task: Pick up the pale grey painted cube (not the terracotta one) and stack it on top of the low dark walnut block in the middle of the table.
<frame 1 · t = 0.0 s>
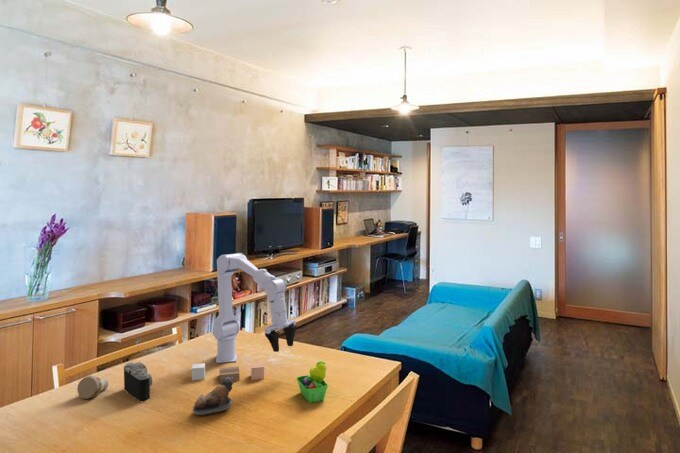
hand: (283, 348, 163), 11 cm above the table, fingers open, 7 cm apart
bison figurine: (213, 412, 136), on the table
grey block: (198, 377, 163), on the table
grey stepped cylinder: (94, 394, 149), on the table
terracotta block: (257, 377, 163), on the table
camera: (141, 393, 149), on the table
fruit basket: (313, 396, 147), on the table
walnut base: (229, 378, 162), on the table
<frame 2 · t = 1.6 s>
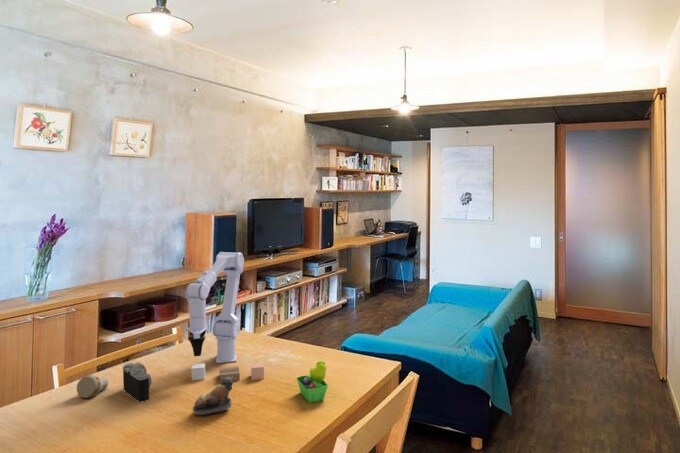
hand: (198, 352, 162), 9 cm above the table, fingers open, 7 cm apart
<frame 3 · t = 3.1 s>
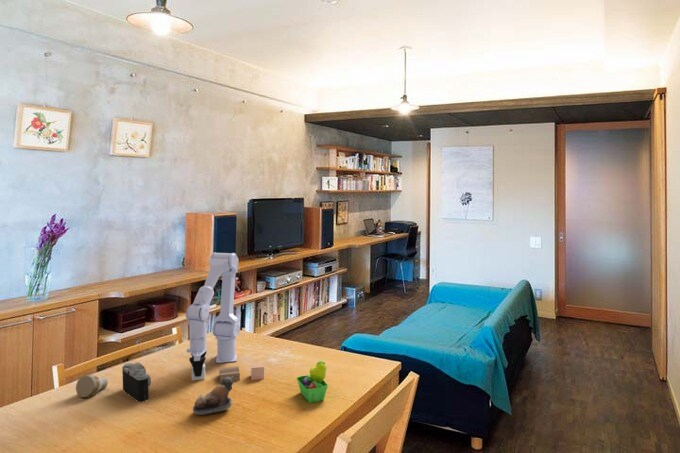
hand: (198, 373, 162), 1 cm above the table, fingers closed on grey block, 4 cm apart
grey block: (198, 377, 163), on the table, touching gripper
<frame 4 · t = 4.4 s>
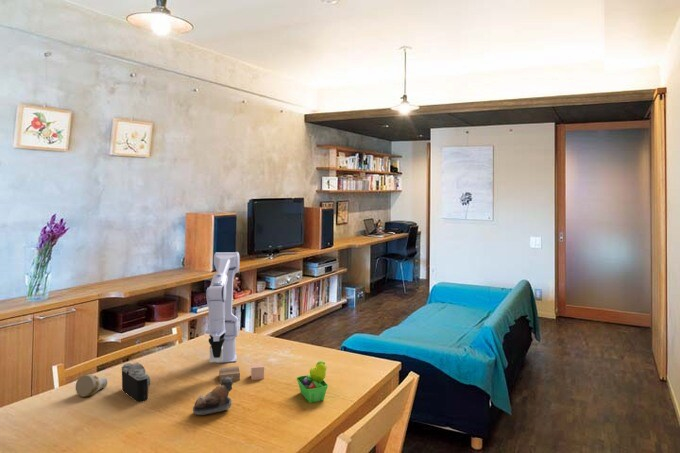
hand: (217, 355, 162), 8 cm above the table, fingers closed on grey block, 4 cm apart
grey block: (216, 359, 162), point 7 cm above the table, touching gripper
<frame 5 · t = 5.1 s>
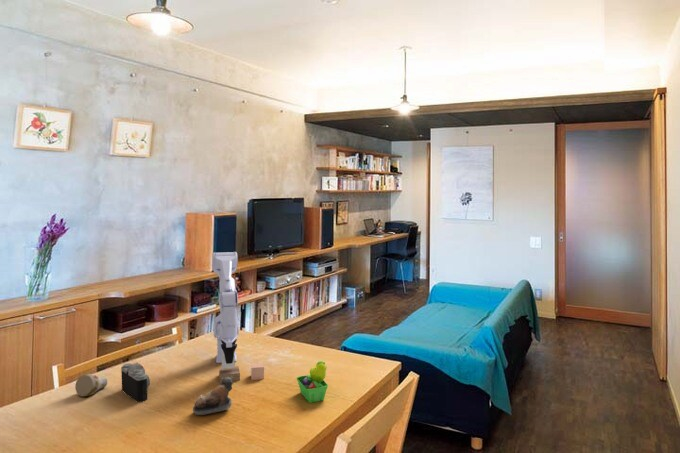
hand: (229, 360, 162), 6 cm above the table, fingers closed on grey block, 4 cm apart
grey block: (228, 365, 162), point 5 cm above the table, touching gripper
when the fingers open (5 cm above the table, at t = 5.7 s): grey block drops 1 cm, resting on walnut base.
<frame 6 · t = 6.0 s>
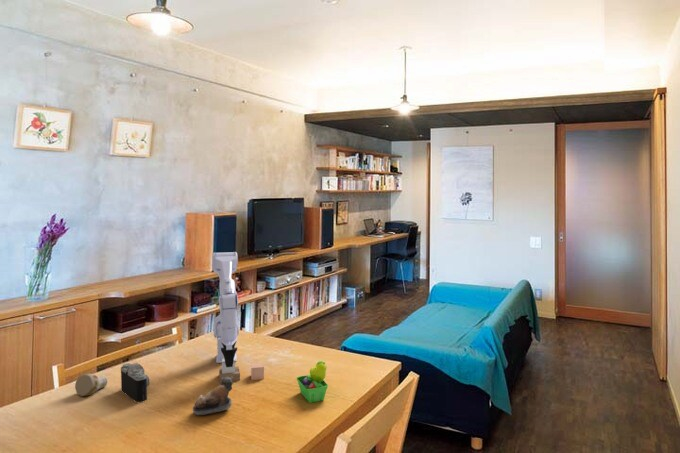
hand: (229, 363, 162), 5 cm above the table, fingers open, 7 cm apart
grey block: (228, 370, 162), point 3 cm above the table, touching walnut base
walnut base: (229, 378, 162), on the table, touching grey block
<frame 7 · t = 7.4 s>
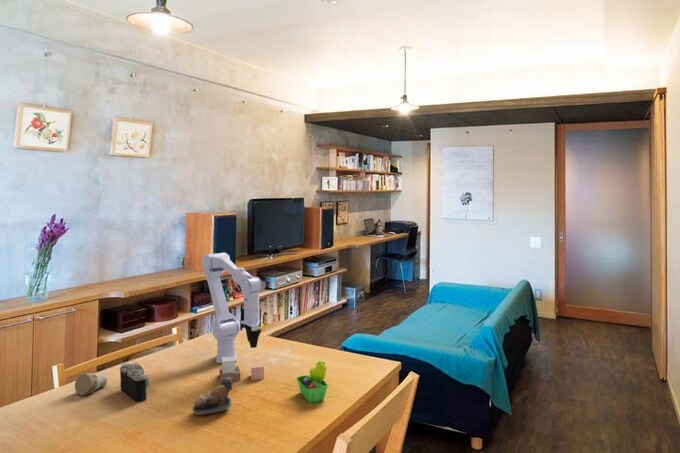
hand: (252, 344, 170), 10 cm above the table, fingers open, 7 cm apart
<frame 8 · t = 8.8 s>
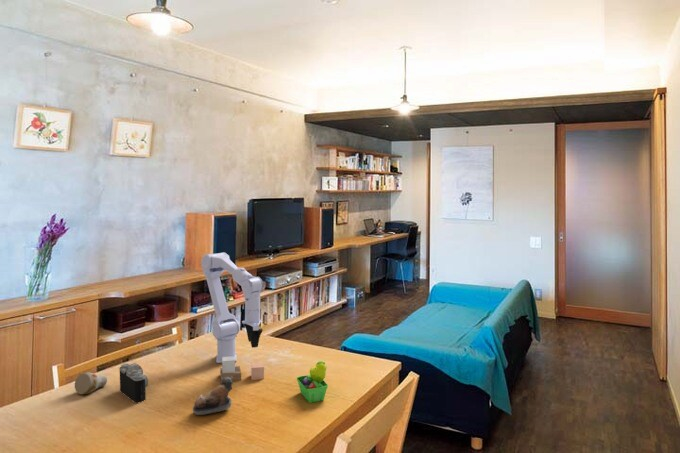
hand: (253, 344, 170), 10 cm above the table, fingers open, 7 cm apart
grey block: (228, 370, 162), point 3 cm above the table
walnut base: (230, 378, 163), on the table
at the end: grey block 0.7 cm off-centre on the walnut base, point 3.0 cm above the walnut base's base; grey block tilted 0°; terracotta block moved 0.1 cm from its start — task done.
